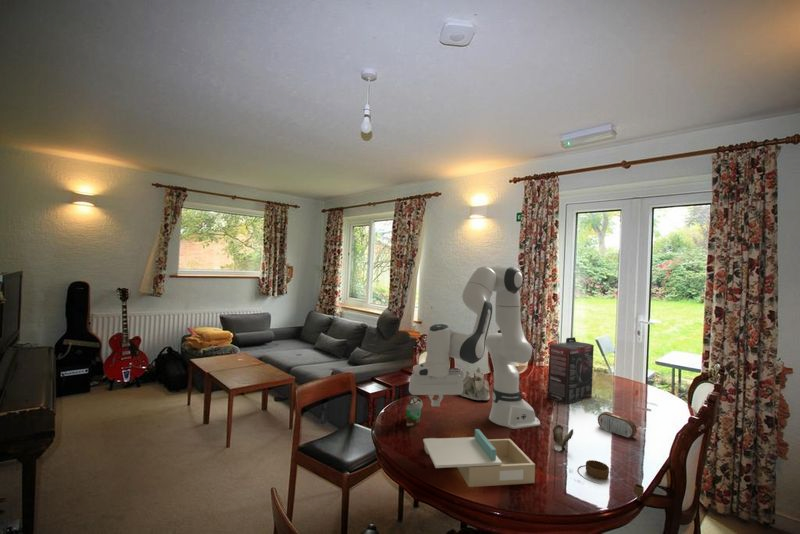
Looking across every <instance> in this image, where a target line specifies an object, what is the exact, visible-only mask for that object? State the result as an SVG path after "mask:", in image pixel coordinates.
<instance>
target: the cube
mask: <svg viewBox="0 0 800 534" xmlns="http://www.w3.org/2000/svg"><path fill="white" fill-rule="evenodd" d="M424 439H438V438H437V437H429V438H428V437H426V438H424ZM423 444H424V443H423ZM423 448H424V449H423V450H424V452H425V453H426V455H429V453H428V451H427V448H426V446H425V444H424V447H423Z"/></svg>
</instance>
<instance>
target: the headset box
mask: <svg viewBox="0 0 800 534" xmlns="http://www.w3.org/2000/svg"><path fill="white" fill-rule="evenodd" d="M576 340H577V339H576V336H574V337H573V336H572V337H566V338H565V342H559V343H558V342H557V343H549V354H548V356H549V357H548V376H547V393H546V394H547V398H548V399H552V400H555V401H558V402H559V403H563V404H566V405H567V404H571V403H576V402H579V401H582V400H583V401H584V400H586V399H590V398H592V396H593V393H592V391H593V372H594V369H593V368H594V351H595V350H594V346H595V345H594V344H591V343H587V342H579V341H576Z"/></svg>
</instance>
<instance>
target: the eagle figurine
mask: <svg viewBox="0 0 800 534" xmlns="http://www.w3.org/2000/svg"><path fill="white" fill-rule="evenodd" d="M563 431H564V427H563V426H562V425H561V424H558V425H555V426H554V427H553V429H552V432H553V433H552V434H553V438H552V440H553V441H554V442H555V443H556V444H555V445H554V447H553V448H554V450H555V451H556V452H563V451H564V452H567V453H568V450H567V448H566V447H565V446H566V445H567V442H568V441H570V440H571V439H572V437H573V435H574V429H573V428H571V430H570V431H569V432H568V433H567V434H565V436H564V437H563Z"/></svg>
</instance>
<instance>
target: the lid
mask: <svg viewBox="0 0 800 534" xmlns="http://www.w3.org/2000/svg"><path fill="white" fill-rule="evenodd" d="M488 439H489V438H487V437H486V436H485V435H484V433H483V432H482V431H481V430H480V428H475V429H474V436H472V437H471V436H470V437H469V436H468V437H467V436H466V437H443V438H441V437H440V438H437V439H425V438H423V439H422V443H423V444H425V446H426V448H427V451H428V453H429V454H428V455H429V457H430V459H431V462H432V463H433V465H434V468H435V469H441V468H442V469H443V468H457V467H467V466H488V465H502V462H501V460H500V459H499V458H498V457H497V456H496V449H495V448H494V446H493V445H492V444H491V443H490V442H489V440H488Z"/></svg>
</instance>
